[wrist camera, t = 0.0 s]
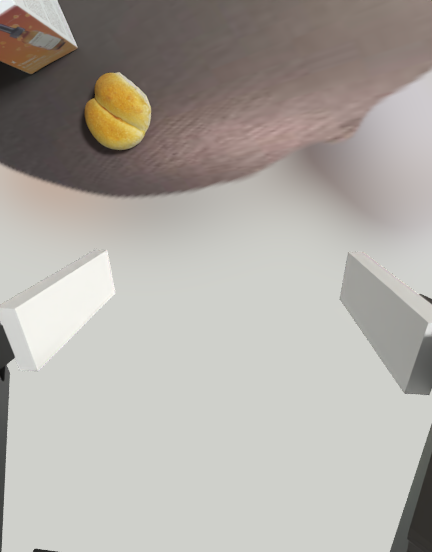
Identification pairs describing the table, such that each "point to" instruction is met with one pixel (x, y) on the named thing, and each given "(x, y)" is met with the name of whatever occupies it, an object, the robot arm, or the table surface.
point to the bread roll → (118, 112)
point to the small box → (33, 34)
